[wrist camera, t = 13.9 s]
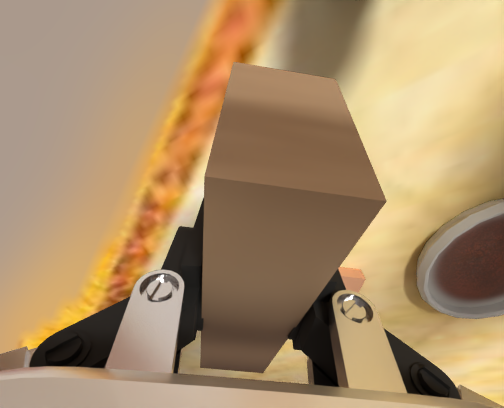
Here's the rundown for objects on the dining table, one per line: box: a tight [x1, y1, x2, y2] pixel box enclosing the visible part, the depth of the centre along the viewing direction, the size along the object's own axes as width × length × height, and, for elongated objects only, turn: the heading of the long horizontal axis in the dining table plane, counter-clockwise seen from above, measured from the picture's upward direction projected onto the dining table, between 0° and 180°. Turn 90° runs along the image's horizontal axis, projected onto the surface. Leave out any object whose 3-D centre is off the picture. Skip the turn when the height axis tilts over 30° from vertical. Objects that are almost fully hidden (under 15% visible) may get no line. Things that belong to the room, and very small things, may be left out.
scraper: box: [200, 62, 386, 373], centre depth 12 cm, size 18×7×5 cm, turn 171°
